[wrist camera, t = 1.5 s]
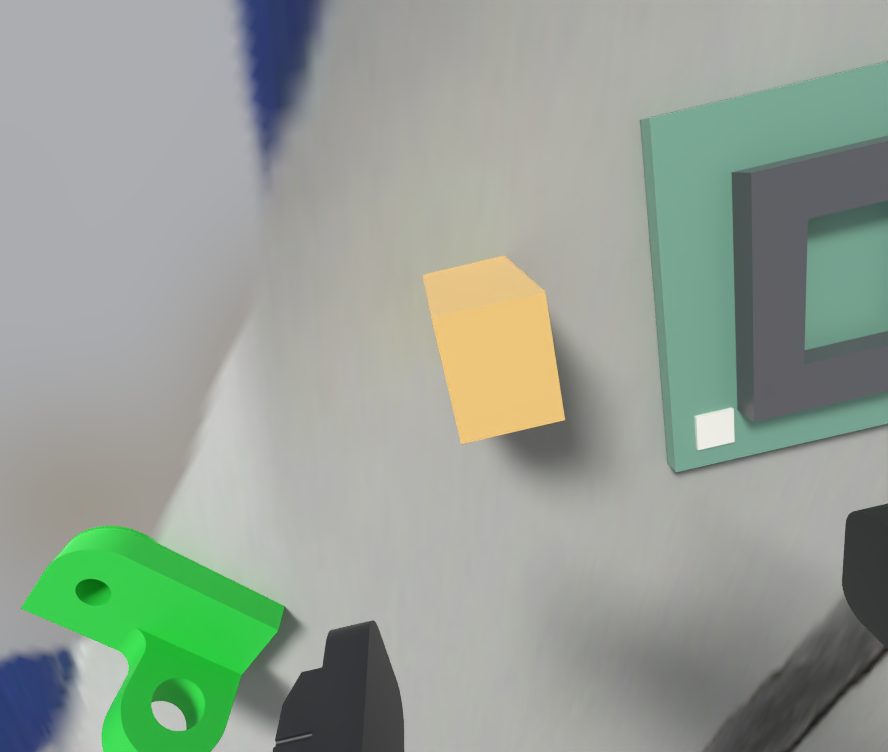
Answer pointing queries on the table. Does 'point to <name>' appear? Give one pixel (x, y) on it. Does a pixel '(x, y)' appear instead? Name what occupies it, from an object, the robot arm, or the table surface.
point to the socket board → (707, 253)
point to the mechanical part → (158, 632)
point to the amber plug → (495, 348)
